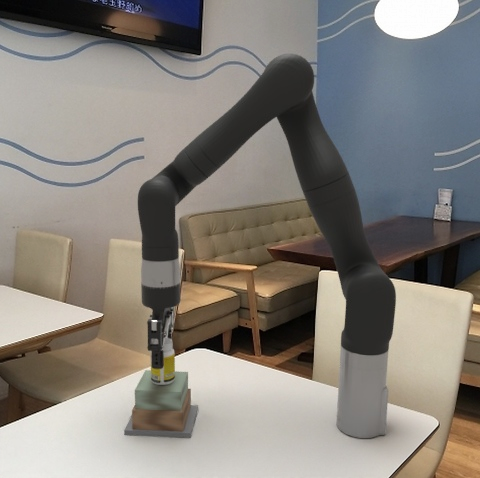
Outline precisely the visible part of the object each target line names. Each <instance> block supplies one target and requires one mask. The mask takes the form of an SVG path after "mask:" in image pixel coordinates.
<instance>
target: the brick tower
mask: <svg viewBox="0 0 480 478" xmlns="http://www.w3.org/2000/svg"><path fill="white" fill-rule="evenodd" d="M191 391H192V389H191V388H189V371H177V370H175V380H174V381H173V382H172V383H170V384H167V385H157V384H154V383H153V382H152V381H151V369H150V370H149V369H148V370H144V372H143V374H142V376H141V378H140V380H139V381H138V383H137V385H136V387H135V389H134V406H133V407H132V410H131V416H132V429H140V430H162V431H184V427H185V424H186V421H187V417H188V414H189V411H190V407H191V405H192V400H191V399H192V397H191V396H192V392H191Z"/></svg>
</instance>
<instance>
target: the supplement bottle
mask: <svg viewBox="0 0 480 478" xmlns="http://www.w3.org/2000/svg"><path fill="white" fill-rule="evenodd" d="M154 344H158V339H155V340H154ZM173 346H174V345H173V338H172V339H170V338H167V339H165V341H164V366H163V368H162V369H154V368H152V354H151V353H150V370H151V381H152V382H153V383H154V384H157V385H167V384H170V383H172V382H173V381H174V380H175V371H176V365H175V364H176V363H175V362H176V359H175V356H176V355H175V354H176V353H175V352H176V351H175V349H174V347H173Z"/></svg>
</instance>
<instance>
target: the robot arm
mask: <svg viewBox="0 0 480 478" xmlns="http://www.w3.org/2000/svg"><path fill="white" fill-rule="evenodd" d="M314 84H315V73H314V69H313V66H312V65H311V64H310V62H309V61H308V60H307V59H306V58H305V57H303V56H301V55H299V54H297V53H283V54H280V55H278V56H276V57H274V58H273V59H272V60H270V61H269V63H267V65H266V66H265V68H264V70H263V71H262V73H261V75H260V76H259V78H257V80H256V81H255V82H254V84H253V85H251V87H250V88H249V89H248V90H247V92H245V94H244V95H243V96H242V97H241V98H240V99H239V100H238V101H237V102H236V103H235V104H233V106H231V108H229V109H228V110H227V111H226V112H225V113H224V114H222V115H221V116H220V117H218V119H216V120H215V121H214V122H213V123H212V124H210V125H209V126H208V127H206V129H204V130H203V131H202V132H201V133H200V134H198V135H197V136H196V137H195V138H194V139H193V140H191V142H190V143H188V144H187V145H186V146H185V147H184V148H183V149H181V150H180V152H179V153H178V154H177V155H176V156H175V157H174V159H173V160H172V161H171V162H170V163H169V164H168V165H167V166H165V167H164V168H162V170H160V172H158V173H156V175H154V176H153V177H151V179H147V180H146V181H145V182H144V183H143V184H142V185H141V186H140V188H139V190H138V194H137V213H138V220H139V225H140V231H141V266H140V267H141V268H140V275H141V276H140V277H141V278H140V279H141V285H140V287H141V303H142V305H143V306H144V307H145V308H149V309H151V311H152V312H151V313H152V314H150V315H149V318H148V319H147V322H146V324H147V351H149V352H150V355H151V354H152V368H154V369H162V368H163V366H164V341H165V339H167V338H170V339H172V340H173V337H172V333H173V332H174V327H175V307H177V306H179V304H180V303H181V299H182V298H181V267H180V257H179V256H180V255H179V253H180V252H179V251H180V249H179V246H180V245H179V244H180V243H179V234H178V231H177V229H176V207H177V205H179V204H180V203H181V202H182V201H183V200H184V199H185V198H186V197H187V196H188V195H189V194H190V193H191V192H192V191H193V190H194V189H195V188H196V187H198V186H199V185H201V184H202V183H203V182H205V181H206V180H208V179H209V178H210V177H211V176H212V175H213V174H214V173H216V171H218V170H219V169H220V168H221V167H222V166H224V164H226V163H228V161H229V160H230V159H231V158H232V157H233V156H234V155H235V154H236V153H237V152H238V151H239V150H240V149H241V148H242V147H244V145H245V144H246V143H247V142H248V140H250V139H251V138H252V137H253V136H254V135H255V134H256V133H258V132H259V131H260V130H261V129H263V127H265V126H267V124H268V123H270V122H272V121H273V120H274V119H277V121H278V123H279V125H280V127H281V130H282V131H283V134H284V137H285V138H286V141H287V144H288V148H289V151H290V155H291V158H292V163H293V167H294V170H295V172H296V175H297V179H298V181H299V185H300V188H301V191H302V194H303V197H304V198H305V201H306V203H307V206H308V208H309V210H310V213H311V215H312V217H313V219H314V221H315V224H316V225H317V227H318V229H319V230H320V232H321V235H322V236H323V238H324V239H325V241H326V243H327V245H328V246H329V249H330V253H331V255H332V258H333V262H334V264H335V268H336V271H337V275H338V278H339V283H340V288H341V290H342V291H341V292H342V295H343V298H344V299H345V313H344V326H343V329H342V331H341V336H340V350H339V351H340V355H339V370H338V371H339V372H338V389H337V390H338V391H337V392H338V394H337V408H336V409H337V410H336V427H337V428H338V429H339V431H340V432H342V433H343V434H345V435H347V436H350V437H353V438H360V439H371V438H376V437H378V436H386V431H387V429H386V428H387V416H388V402H389V389H388V387H387V386H388V385H387V377H388V376H387V375H388V361H389V348H390V342H391V339H392V337H393V333H394V332H393V331H394V325H395V317H396V315H395V314H396V307H397V306H396V304H397V302H396V301H397V292H396V287H395V284H394V283H393V281H392V280H391V279H390V277H389V276H388V275H387V273H386V272H384V270H383V269H382V267H381V266H380V263H378V260H377V258H376V257H375V254H374V253H373V250H372V248H371V246H370V243H369V242H368V239H367V237H366V234H365V228H364V223H363V219H362V218H363V217H362V212H361V206H360V201H359V199H358V195H357V192H356V189H355V186H354V183H353V180H352V178H351V175H350V173H349V170H348V168H347V165H346V163H345V162H344V159H343V158H342V156H341V154H340V152H339V150H338V148H337V146H336V145H335V143H334V142H333V140H332V138H331V136H329V134H328V132H327V130H326V128H325V126H324V125H323V124H324V123H323V122H322V120H321V117H320V114H319V110H318V107H317V104H316V100H315V97H314V94H313V89H314ZM155 339H158V344H154V340H155Z"/></svg>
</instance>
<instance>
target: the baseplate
mask: <svg viewBox="0 0 480 478" xmlns="http://www.w3.org/2000/svg"><path fill="white" fill-rule="evenodd" d="M198 412H199V405H196V404H191V407H190V411H189V414H188V417H187V421H186V424H185V427H184V431H162V430H140V429H132V415H131V416H130V418H129V419H128V421H127V424H126V426H125V427H124V430H123V431H124V433H123V434H124V435H125V436H138V437H139V436H141V437H160V438H161V437H164V438H167V437H168V438H185V439H186V438H187V439H190V438H191V437H192V435H193V429H194V426H195V423H196V418H197V415H198Z"/></svg>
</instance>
